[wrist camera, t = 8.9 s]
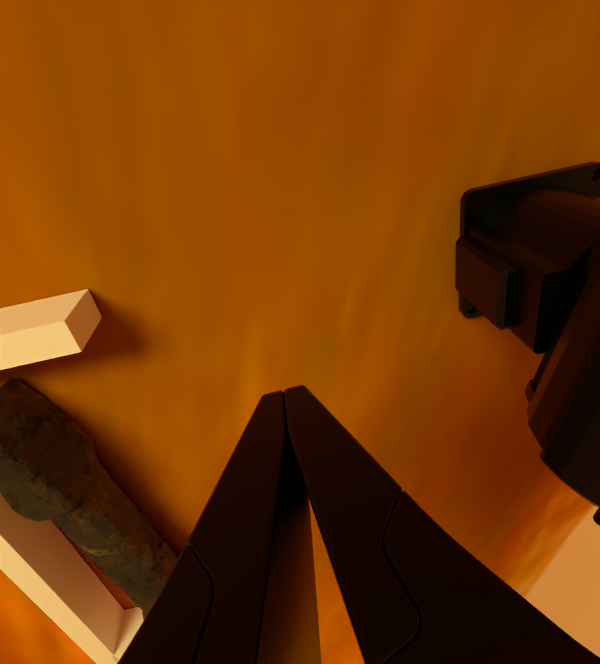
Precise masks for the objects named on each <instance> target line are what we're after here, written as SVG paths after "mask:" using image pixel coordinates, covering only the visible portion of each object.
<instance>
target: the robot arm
mask: <svg viewBox="0 0 600 664" xmlns="http://www.w3.org/2000/svg"><path fill="white" fill-rule="evenodd" d="M595 170H596V173H595V175H594V176H593V177H592V178H591V175H592V173H593V172H594V171H595ZM475 196H477V200H476V202H475V204H473V205H470V201H471V199H472V198H473V197H475ZM455 287H456V289H457V290H458V291H459V310H460V312H461V313H462V314H463V315H464V316H465V317H466V318H474V317H478V316H483V315H484V316H485V317H486V318H487V319H488V320H489V321H490V322H491V323H492V324H494V325H495V326H496V327H497V328H499V329H501V330H503V329H507V328H508V329H509V330H511V331H512V332H513V333H514V334H515V335H516V336H517V337H518V338H519V339H520V340H521V341H523V342H524V343H525V344H526V345H527V346H528V347H529V348H530V349H531V350H532V351H533V352H535V353H536V354H542V353H545V355H544V357H543V359H542V361H541V363H540V366H539V368H538V370H537V372H536V375H535V377H534V379H533V380H530V381H529V383H528V385H527V388H526V390H525V394H526V397H527V399H528V402H529V406H528V408H527V411H528V425H529V427H530V428H531V430H532V432H533V434H534V436H535V437H536V439H537V441H538V443H539V445H540V446H541V447H542V450H541V452H540V458H541V459H542V461H543V462H544V463H545V465H546V466H547V467H548V468H549V469H550V470H551V471H552V472H553V473H554V474H555V475H556V476H557V477H558V478H559V479H560V480H561V481H562V482H563V483H565V484H566V485H567V486H569V487H570V488H571V489H572V490H574V491H575V492H576V493H578V494H579V495H580V496H582V497H583V498H584V499H586V500H588V501H589V502H590V503H592V504H593V505H595V506H597V507H599V508H598V510H597V511H596V513H595V514H594V516H593V519H594V521H595V522H596V523H597V524H598V525H600V162H589V163H584V164H580V165H575V166H571V167H566V168H562V169H557V170H553V171H548V172H544V173H539V174H535V175H530V176H526V177H521V178H517V179H512V180H508V181H503V182H499V183H494V184H490V185H485V186H481V187H476V188H472V189H469V190H467V191H466V192H465V193H464V194H463V196H462V198H461V207H460V237H459V239H458V240H457V242H456V283H455ZM471 305H473V307H472V308H471V309H470V310H467V309H468V308H469V307H470V306H471ZM308 497H309V498H308ZM309 500H310V503H311V506H312V509H313V512H314V515H315V518H316V521H317V524H318V527H319V530H320V533H321V536H322V539H323V542H324V545H325V548H326V551H327V554H328V557H329V560H330V563H331V566H332V569H333V572H334V575H335V578H336V581H337V584H338V587H339V590H340V593H341V595H342V598H343V601H344V604H345V607H346V610H347V613H348V616H349V619H350V622H351V625H352V628H353V631H354V634H355V637H356V640H357V643H358V646H359V649H360V652H361V655H362V658H363V661H364V664H600V658H599V657H598V656H596V655H595V654H593V653H592V652H591V651H589V650H588V649H587V648H585V647H584V646H582V645H581V644H580V643H578V642H577V641H576V640H574V639H573V638H572V637H571V636H569V635H568V634H567V633H565V632H564V631H563V630H562V629H561V628H559V627H558V626H557V625H556V624H555V623H553V622H552V621H551V620H550V619H548V618H547V617H546V616H545V615H544V614H542V613H541V612H540V611H539V610H538V609H536V608H535V607H534V606H533V605H532V604H530V603H529V602H528V601H527V600H526V599H524V598H523V597H522V596H521V595H520V594H518V593H517V592H516V591H515V590H514V589H512V588H511V587H510V586H509V585H507V584H506V583H505V582H504V581H503V580H501V579H500V578H499V577H498V576H497V575H495V574H494V573H493V572H492V571H491V570H489V569H488V568H487V567H486V566H485V565H483V564H482V563H481V562H480V561H478V560H477V559H476V558H475V557H474V556H473V555H471V554H470V553H469V552H468V551H467V550H466V549H465V548H463V547H462V546H461V545H460V544H459V543H458V542H457V541H455V540H454V539H453V538H452V537H451V536H450V535H449V534H447V533H446V532H445V531H444V530H443V529H442V528H441V527H440V526H439V525H438V524H437V523H436V522H435V521H434V520H433V519H432V518H431V517H430V516H429V515H428V514H427V513H426V512H425V511H424V510H423V509H422V508H421V507H420V506H419V505H418V504H417V503H416V502H415V501H414V500H413V499H412V498H411V497H410V496H409V495H408V494H407V493H406V492H405V491H402V488H401V487H400V486H399V485H398V483H397V482H396V481H395V480H394V479H393V478H392V477H391V476H390V475H389V474H388V473H387V472H386V471H385V470H384V469H383V468H382V467H381V466H380V464H379V463H378V462H377V461H376V460H375V459H374V458H373V457H372V456H371V455H370V454H369V453H368V452H367V451H366V450H365V449H364V448H363V447H362V445H361V444H360V443H359V442H358V441H357V440H356V439H355V438H354V437H353V436H352V435H351V434H350V433H349V432H348V431H347V430H346V429H345V428H344V427H343V425H342V424H341V423H340V422H339V421H338V420H337V419H336V418H335V417H334V416H333V415H332V414H331V413H330V412H329V411H328V410H327V409H326V408H325V406H324V405H323V404H322V403H321V402H320V401H319V400H318V399H317V398H316V397H315V396H314V395H313V394H312V393H311V392H310V391H309V390H308V389H307V387H305V386H304V385H299V386H295V387H291V388H287V389H285V391H284V392H283V391H281V390H280V391H275V392H271V393H267V394H264V395H263V396H262V397H261V399H260V401H259V403H258V405H257V407H256V409H255V410H254V412H253V414H252V416H251V418H250V420H249V422H248V424H247V426H246V428H245V430H244V432H243V434H242V436H241V438H240V440H239V442H238V444H237V445H236V447H235V449H234V451H233V453H232V455H231V457H230V459H229V461H228V463H227V465H226V467H225V469H224V471H223V473H222V475H221V477H220V479H219V481H218V482H217V484H216V486H215V488H214V490H213V492H212V494H211V496H210V498H209V500H208V502H207V504H206V506H205V508H204V510H203V512H202V514H201V516H200V517H199V519H198V521H197V523H196V525H195V527H194V529H193V531H192V533H191V535H190V537H189V539H188V541H187V544H188V545H189V546H188V545H186V546H185V547H184V548H183V550H182V552H181V554H180V556H179V558H178V560H177V562H176V564H175V566H174V568H173V569H172V571H171V573H170V575H169V577H168V579H167V580H166V582H165V584H164V586H163V588H162V590H161V591H160V593H159V595H158V597H157V599H156V601H155V602H154V604H153V606H152V607H151V609H150V611H149V612H148V614H147V616H146V617H145V619H144V621H143V622H142V624H141V626H140V627H139V629H138V631H137V632H136V634H135V636H134V637H133V639H132V641H131V642H130V644H129V645H128V647H127V649H126V650H125V652H124V653H123V655H122V656H121V658H120V660H119V661H118V663H117V664H321V652H320V639H319V625H318V612H317V598H316V585H315V571H314V558H313V544H312V531H311V517H310V506H309Z"/></svg>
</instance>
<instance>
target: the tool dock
mask: <svg viewBox="0 0 600 664" xmlns="http://www.w3.org/2000/svg"><path fill="white" fill-rule="evenodd" d="M101 318H102V316H101V314H100V312H99V310H98V308H97V306H96V304H95V302H94V300H93V298H92V296H91V294H90V292H89V290H88V289H86V290H81V291H77V292H72V293H68V294H63V295H59V296H54V297H50V298H45V299H41V300H36V301H32V302H27V303H23V304H18V305H14V306H9V307H5V308H0V370H3V369H7V368H12V367H16V366H21V365H25V364H30V363H34V362H39V361H43V360H48V359H52V358H56V357H61V356H65V355H70V354H74V353H79V352H82V350H83V349H84V347H85V345H86V344H87V342H88V340H89V339H90V337H91V335H92V334H93V332H94V330H95V328H96V327H97V325H98V323H99V322H100V320H101ZM0 569H1V570H2V571H3V572H4V573H5V574H6V575H7V576H8V577H9V578H10V579H11V580H12V581H13V582H14V583H15V584H16V585H17V586H18V587H19V588H20V589H21V590H22V591H23V592H24V593H25V594H26V595H27V596H28V597H29V598H30V599H31V600H32V601H33V602H34V603H35V604H37V605H38V606H39V607H40V608H41V609H42V610H43V611H44V612H45V613H46V614H47V615H48V616H49V617H50V618H51V619H52V620H53V621H54V622H55V623H56V624H57V625H58V626H59V627H60V628H61V629H62V630H63V631H64V632H65V633H66V634H67V635H68V636H69V637H70V638H71V639H72V640H73V641H74V642H75V643H76V644H77V645H78V646H79V647H80V648H81V649H82V650H83V651H84V652H85V653H86V654H87V655H88V656H89V657H90V658H91V659H92V660H93V661H94V662H95V663H96V664H117V663H118V661H119V660H120V658H121V656H122V655H123V653H124V652H125V650H126V649H127V647H128V645H129V644H130V642H131V641H132V639H133V637H134V636H135V634H136V632H137V631H138V629H139V627H140V626H141V624H142V622H143V621H144V620H143V615H142V610H141V609H140V608H139V607H135V608H130V609H126V610H124V609H123V608H122V607H121V605H120V604H119V603H118V602H117V601H116V599H115V598H114V597H113V596H112V594H111V593H110V592H109V591H108V589H107V588H106V587H105V586H104V584H103V583H102V582H101V581H100V580H99V578H98V577H97V576H96V575H95V573H94V572H93V571H92V570H91V568H90V567H89V566H88V565H87V564H86V562H85V561H84V560H83V559H82V557H81V556H80V555H79V554H78V552H77V551H76V550H75V549H74V547H73V546H72V545H71V544H70V543H69V541H68V540H67V539H66V538H65V536H64V535H63V534H62V533H61V531H60V530H59V529H58V528H57V526H56V525H55V524H54V523H53V522H52V520H50V519H48V520H44V521H34V520H30V519H27V518H24V517H23V516H21V515H19V514H18V513H16V512H15V511H14V510H12V509H11V507H10V506H9V505H8V503H7V502H6V500H5V499H4V497H3V496H2V495H1V493H0Z"/></svg>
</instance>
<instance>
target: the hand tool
mask: <svg viewBox="0 0 600 664" xmlns="http://www.w3.org/2000/svg"><path fill="white" fill-rule="evenodd" d="M0 493H1V495H2V496H3V497H4V499H5V500H6V502H7V503H8V505H9V506H10V507H11V509H12V510H14V511H15V512H16V513H18V514H19V515H21V516H23V517H24V518H27V519H30V520H34V521H44V520H48V519H50V520H52V521H53V522H54V523H55V524H56V525H57V526H59V527H60V528H61V529H62V530H64V532H65V534H66V535H67V536H68V537H69V538H70V539H71V540H72V541H73V542H74V543H75V544H76V545H77V546H78V547H79V548H80V549H81V550H82V551H84V552H85V553H86V554H87V555H88V556H89V557H90V559H91V560H93V561H94V562H95V563H96V564H97V565H98V566H99V567H100V569H102V570H103V571H104V572H105V573H106V574H107V575H108V576H109V577H110V578H111V579H112V581H113V582H114V583H115V585H117V586H119V587H120V588H121V589H122V590H123V592H125V594H127V595H128V596H129V597H130V598H131V599H132V600H133V602H134V603H136V605H137V607H139V608H140V609H141V610H142V615H143V620H144V619H145V617H146V616H147V614H148V612H149V611H150V609H151V607H152V606H153V604H154V602H155V601H156V599H157V597H158V595H159V593H160V591H161V590H162V588H163V586H164V584H165V582H166V580H167V579H168V577H169V575H170V573H171V571H172V569H173V568H174V566H175V564H176V562H177V560H178V558H179V556H180V555H179V556H177V555H175V553H174V552H173V551H172V550H171V549H170V547H169V546H168V544H167V543H165V542H164V541H163V540H162V539H161V538H160V537H159V535H158V534H157V533H156V532H155V531H154V529H153V528H152V527H151V525H150V524H149V520H148V518H147V516H146V515H143V514H141V513H140V512H139V510H138V509H137V508H136V506H135V505H134V503H133V502H132V501H131V500H130V499H129V498H128V497H127V496H126V495H125V494H124V492H123V491H122V490H121V489H120V488H119V486H118V485H117V484H116V483H115V481H114V480H113V479H112V478H111V476H110V475H109V474H108V473H107V472H106V470H105V469H104V468H103V467H102V466H101V465H100V463H99V460H98V457H97V455H96V453H95V442H94V440H93V439H92V438H91V437H90V436H89V435H88V434H87V433H86V431H85V430H84V429H83V428H81V427H80V426H79V425H78V424H77V423H76V422H75V421H74V420H73V419H72V418H71V417H69V416H68V415H67V414H66V413H64V412H63V411H62V410H60V409H59V408H58V407H57V406H55V405H54V404H53V403H52V402H50V401H49V400H47V399H46V398H44V397H43V396H42V395H40V394H39V393H38V392H36V391H35V390H33V389H31V388H30V387H28V386H27V385H25V384H24V383H22V382H21V381H20V380H18V379H14V378H10V379H9V380H8V381H7V382H6V383H5V384H4V385H3V386H2V387H1V388H0Z"/></svg>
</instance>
